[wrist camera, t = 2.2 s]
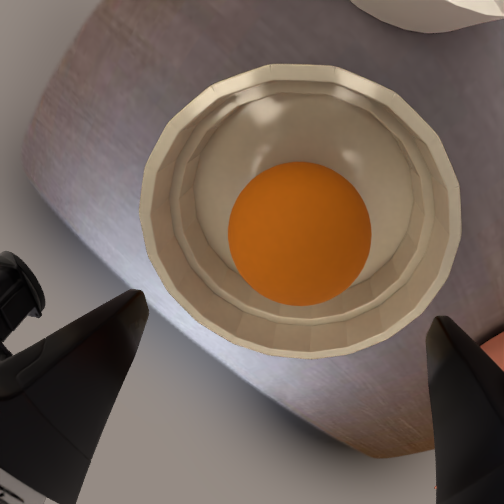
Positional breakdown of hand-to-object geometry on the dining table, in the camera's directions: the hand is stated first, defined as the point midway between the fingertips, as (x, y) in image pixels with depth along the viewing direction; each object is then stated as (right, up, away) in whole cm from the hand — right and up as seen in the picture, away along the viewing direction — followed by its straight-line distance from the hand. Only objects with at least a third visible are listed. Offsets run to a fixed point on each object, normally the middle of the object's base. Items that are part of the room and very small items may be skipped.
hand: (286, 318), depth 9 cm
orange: (+2, +4, +7) cm, 8 cm away
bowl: (+2, +4, +7) cm, 9 cm away
